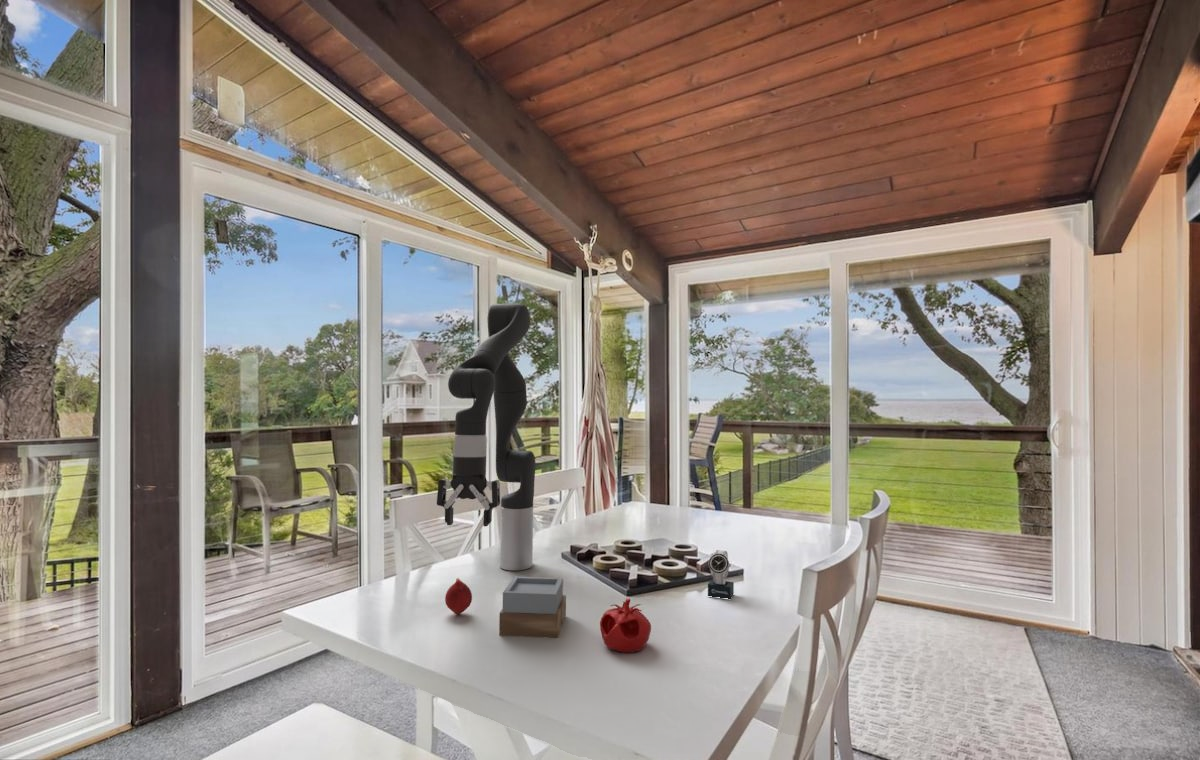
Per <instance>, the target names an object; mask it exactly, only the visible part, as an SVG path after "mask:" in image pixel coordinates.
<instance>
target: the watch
mask: <svg viewBox="0 0 1200 760" xmlns="http://www.w3.org/2000/svg"><path fill="white" fill-rule="evenodd" d="M708 568H709V570H710V574H711V576H712V578H711V579H710V581H709V582H708V584H707V597H708V596H712V597H720V598H728V599H731V600H732V598H733V597H732V595H733V594H734V593H735V591H734V582H733V581H728V580H727V579H728V575H729V568H732V564H731V563H729V555H728V551H727V550H719V549H718V550H717V549H716V551H714V552H713V553H712V555H711V556H710V558H709V560H708ZM733 596H734V595H733ZM731 597H732V598H731Z"/></svg>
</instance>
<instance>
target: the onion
mask: <svg viewBox="0 0 1200 760" xmlns="http://www.w3.org/2000/svg"><path fill="white" fill-rule="evenodd" d="M444 598H445V599H444V602H445V605H446V607H447V608H448V609H449V610H450V611H451V612H453V614H455V615H457V616H459V615H461V614H462V613H463V612H465V611H466V610H467V609H468V608H469V607H470V606H471V604H472V601H473V595H472V591H471V588H470V587H469V586H468V585H467V584H466V583H465V582H463V581H462V580H461V579H460V578H458V577H457V578H456V580H455V582H454V583H453V584H452V585H450V587H449V588H448V589H447V591H446V593H445V597H444Z"/></svg>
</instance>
